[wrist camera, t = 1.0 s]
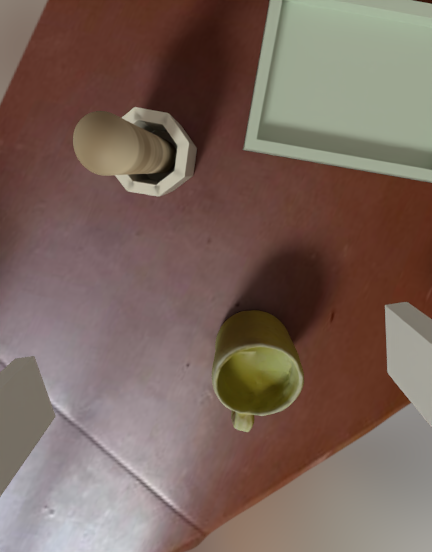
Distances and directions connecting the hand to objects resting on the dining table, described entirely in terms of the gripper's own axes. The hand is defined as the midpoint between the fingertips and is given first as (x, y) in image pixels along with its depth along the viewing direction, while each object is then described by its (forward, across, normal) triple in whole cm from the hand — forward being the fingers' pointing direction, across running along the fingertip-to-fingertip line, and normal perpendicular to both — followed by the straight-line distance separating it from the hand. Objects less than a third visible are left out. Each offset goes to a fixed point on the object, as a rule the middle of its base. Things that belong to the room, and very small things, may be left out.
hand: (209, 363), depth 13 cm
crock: (+27, -4, +9) cm, 29 cm away
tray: (+27, +16, +12) cm, 33 cm away
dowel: (+26, -4, +9) cm, 28 cm away
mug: (+27, +1, -15) cm, 31 cm away
